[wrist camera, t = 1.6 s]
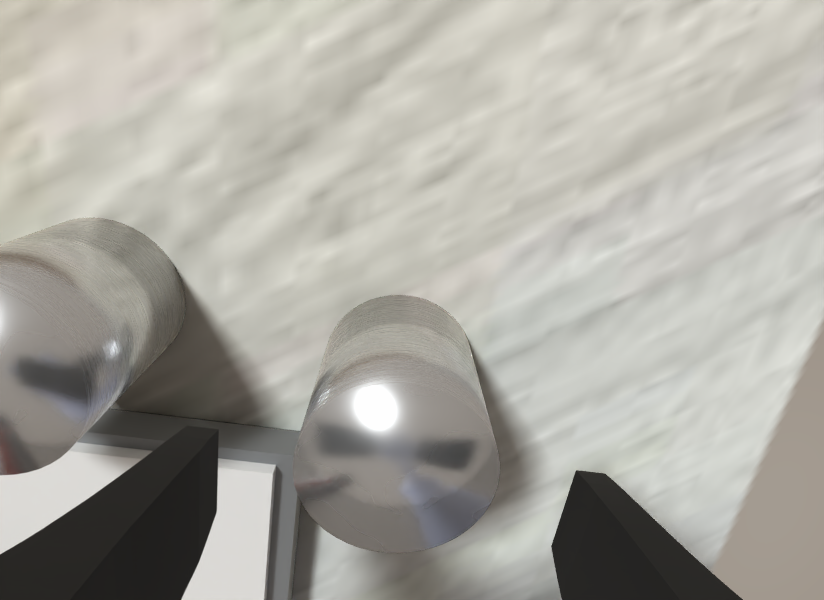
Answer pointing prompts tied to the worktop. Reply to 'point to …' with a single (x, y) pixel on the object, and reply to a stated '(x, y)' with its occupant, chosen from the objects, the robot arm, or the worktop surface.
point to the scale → (236, 498)
